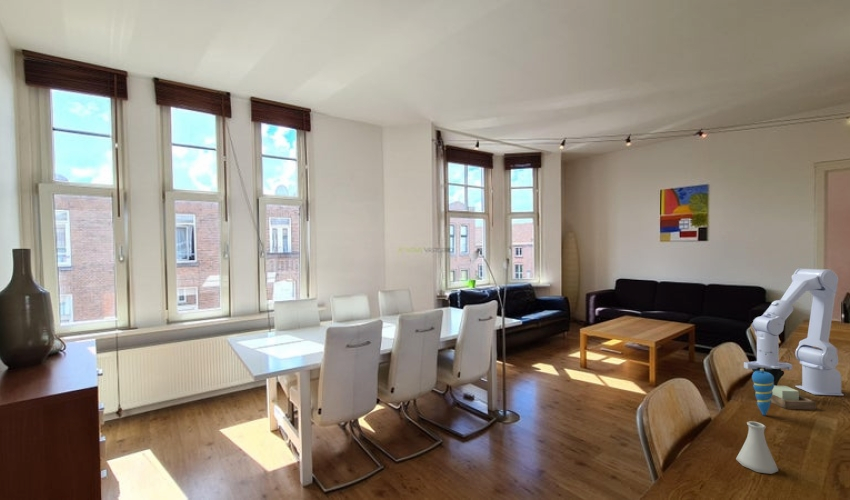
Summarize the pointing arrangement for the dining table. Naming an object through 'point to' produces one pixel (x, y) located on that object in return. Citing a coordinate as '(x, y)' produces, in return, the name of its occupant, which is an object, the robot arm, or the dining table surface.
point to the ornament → (763, 389)
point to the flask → (756, 451)
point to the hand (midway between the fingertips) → (767, 389)
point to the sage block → (786, 393)
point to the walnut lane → (794, 403)
